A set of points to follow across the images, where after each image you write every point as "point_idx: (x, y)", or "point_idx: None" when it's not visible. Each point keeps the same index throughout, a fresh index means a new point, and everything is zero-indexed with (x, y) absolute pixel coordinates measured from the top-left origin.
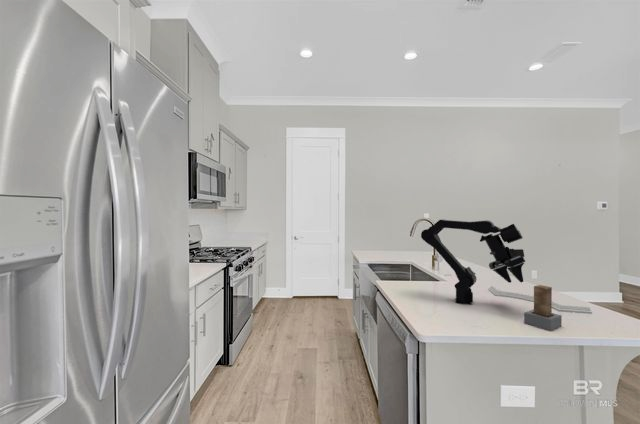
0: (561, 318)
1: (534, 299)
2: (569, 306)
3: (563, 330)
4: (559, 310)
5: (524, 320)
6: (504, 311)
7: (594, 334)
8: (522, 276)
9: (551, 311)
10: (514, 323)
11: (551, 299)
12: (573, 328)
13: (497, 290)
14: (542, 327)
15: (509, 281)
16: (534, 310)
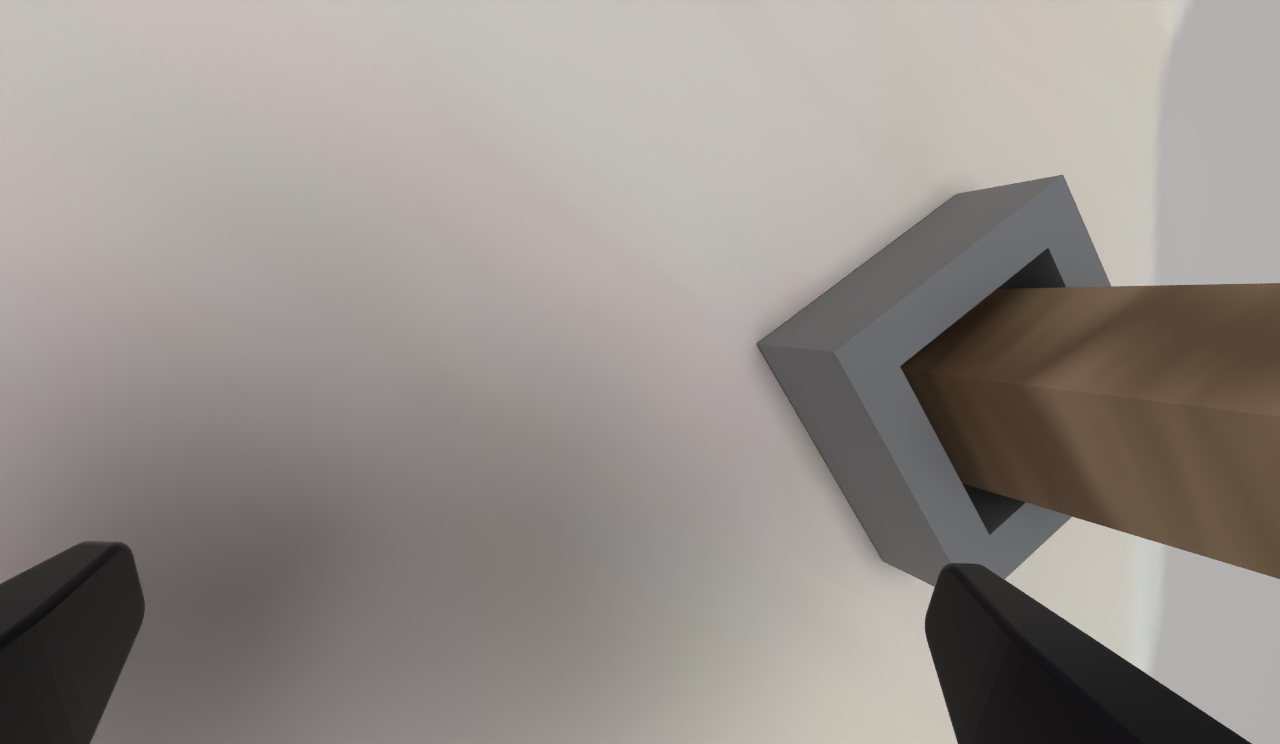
0: (1028, 181)
1: (1189, 543)
2: None
3: None
4: None
5: (905, 568)
6: (470, 609)
7: (1121, 27)
8: (1145, 679)
9: (1073, 287)
10: (887, 670)
11: (1261, 288)
12: (1001, 105)
13: None
14: None
15: (116, 619)
16: (1034, 497)
